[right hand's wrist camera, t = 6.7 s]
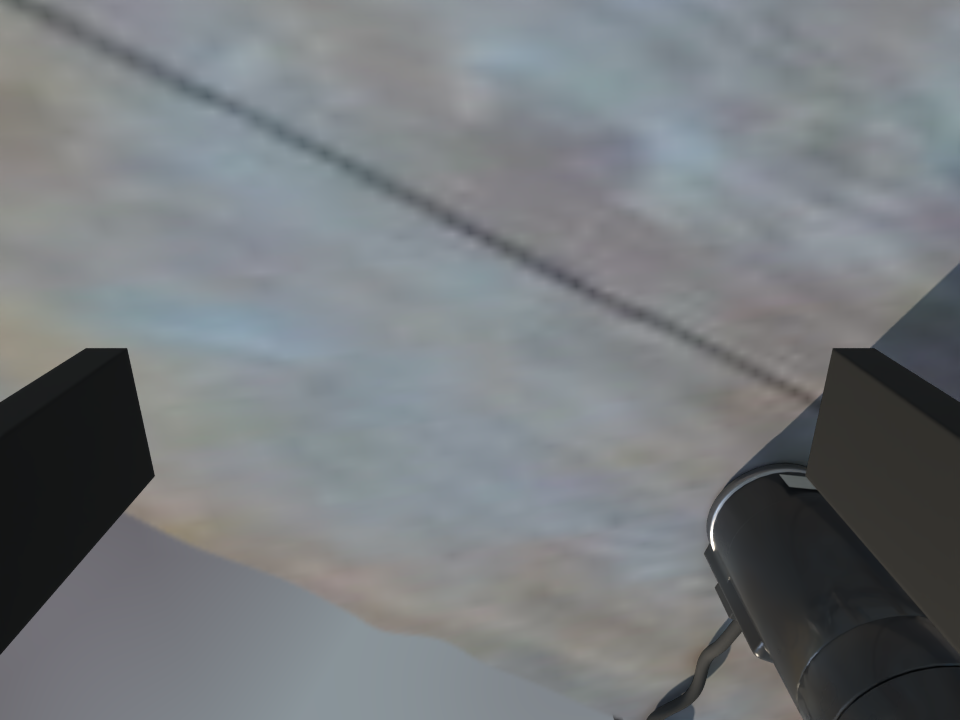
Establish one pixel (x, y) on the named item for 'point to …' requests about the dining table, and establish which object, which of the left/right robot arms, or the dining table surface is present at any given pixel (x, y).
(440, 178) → the dining table surface
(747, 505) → the left robot arm
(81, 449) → the right robot arm
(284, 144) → the dining table surface
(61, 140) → the dining table surface
